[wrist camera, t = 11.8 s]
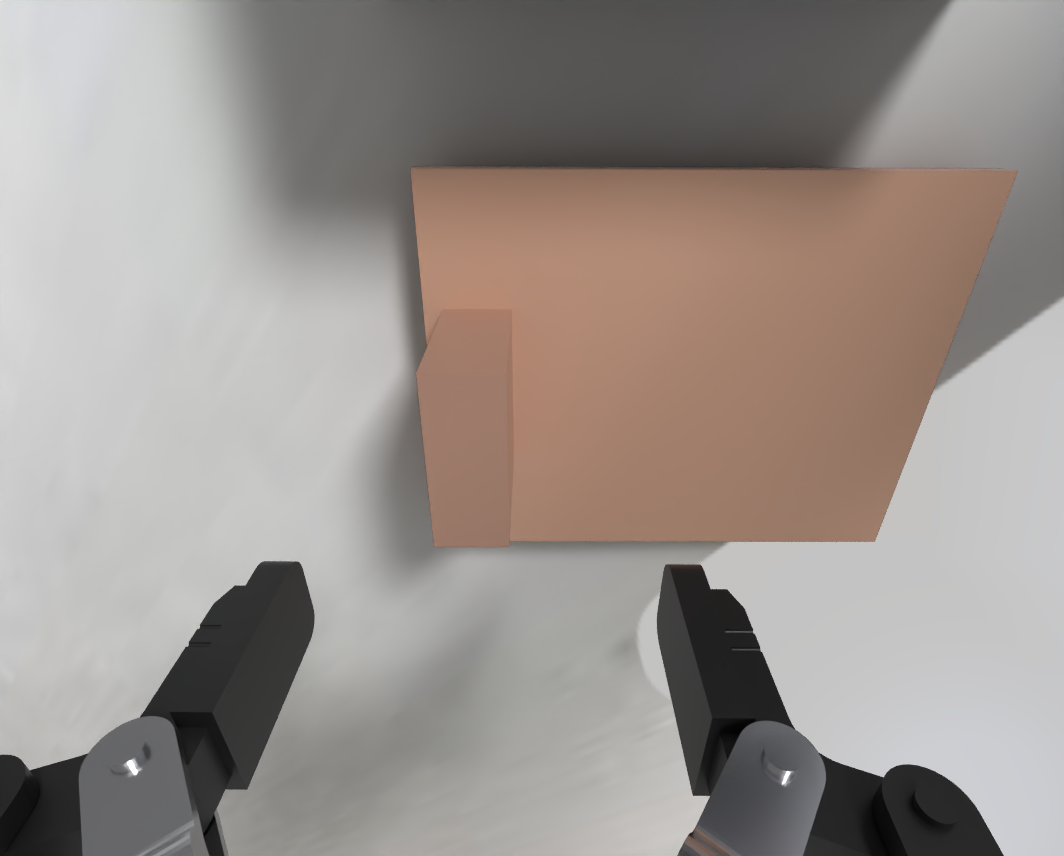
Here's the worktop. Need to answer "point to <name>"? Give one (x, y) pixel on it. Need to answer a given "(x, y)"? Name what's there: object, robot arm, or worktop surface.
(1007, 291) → the worktop surface
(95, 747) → the robot arm
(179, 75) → the worktop surface
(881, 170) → the lid
